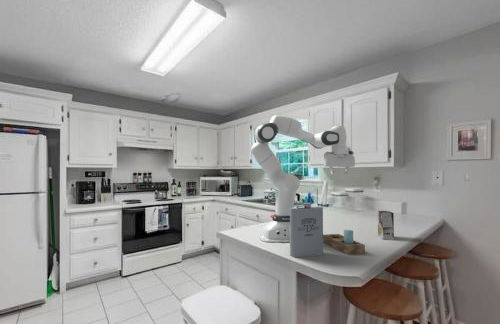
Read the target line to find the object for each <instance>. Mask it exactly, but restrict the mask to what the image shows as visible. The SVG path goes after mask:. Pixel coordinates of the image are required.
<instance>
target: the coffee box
mask: <svg viewBox="0 0 500 324" xmlns="http://www.w3.org/2000/svg"><path fill="white" fill-rule="evenodd" d="M394 213H395V212H393V211H389V210H377V233H378V234H377V235H378V237H380V239H382V240H390V241H394V240H395V234H394V233H395V224H394V223H395V222H394V219H395V218H394V217H395V216H394Z"/></svg>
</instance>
